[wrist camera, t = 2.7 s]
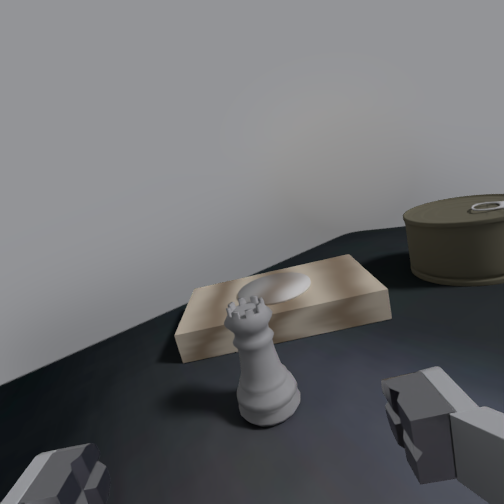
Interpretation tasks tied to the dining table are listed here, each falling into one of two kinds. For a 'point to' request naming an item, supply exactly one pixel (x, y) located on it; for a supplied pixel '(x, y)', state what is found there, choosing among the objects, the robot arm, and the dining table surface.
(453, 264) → the can
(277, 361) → the rook chess piece
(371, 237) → the dining table surface
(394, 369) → the dining table surface
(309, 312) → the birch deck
